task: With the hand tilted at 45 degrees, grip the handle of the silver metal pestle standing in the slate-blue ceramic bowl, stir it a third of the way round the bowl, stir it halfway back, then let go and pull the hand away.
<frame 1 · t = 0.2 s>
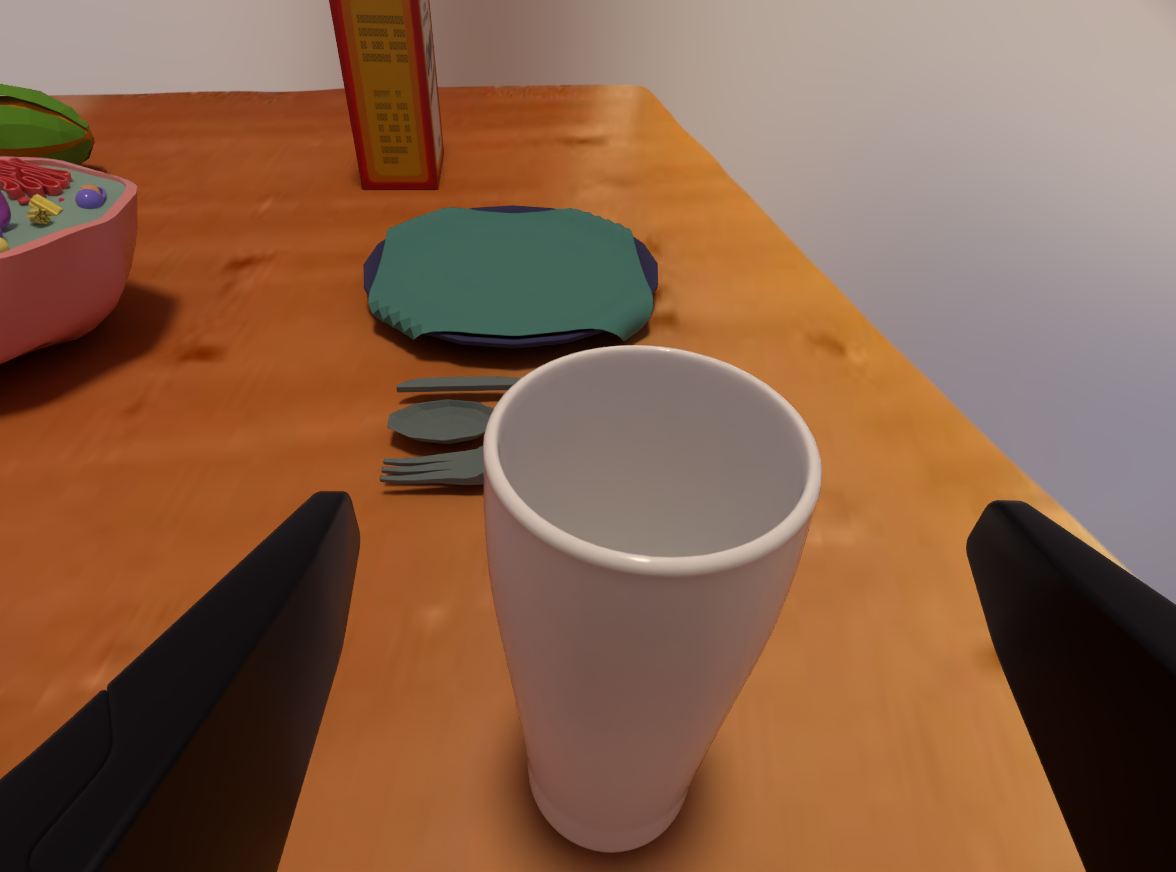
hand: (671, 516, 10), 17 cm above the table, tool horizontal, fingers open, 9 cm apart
baking soda box: (405, 172, 65), on the table
cutlery set: (515, 329, 44), on the table
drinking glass: (607, 774, 23), on the table
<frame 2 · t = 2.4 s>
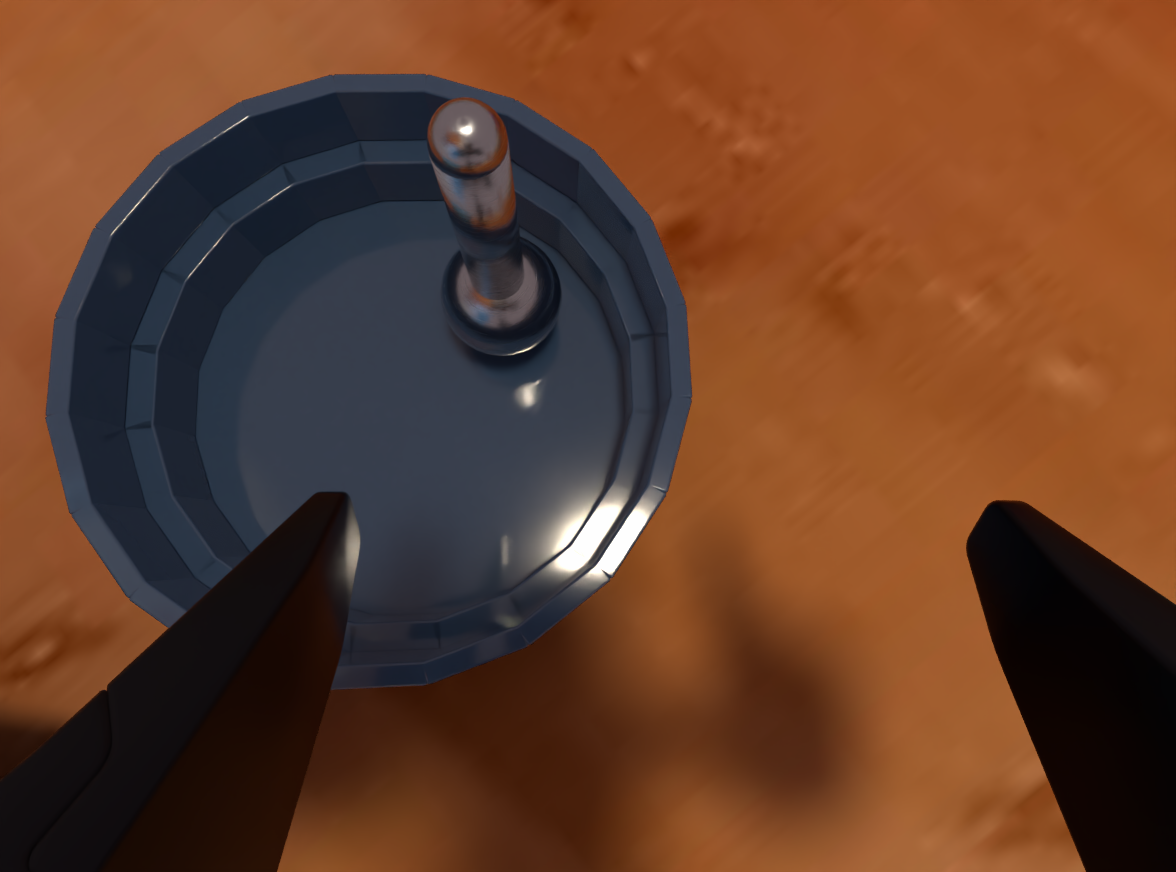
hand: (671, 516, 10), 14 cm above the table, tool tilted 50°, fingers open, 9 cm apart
silver metal pestle: (496, 271, 20), point 5 cm above the table, hinge at 0.0°
mixing bowl: (417, 401, 24), on the table
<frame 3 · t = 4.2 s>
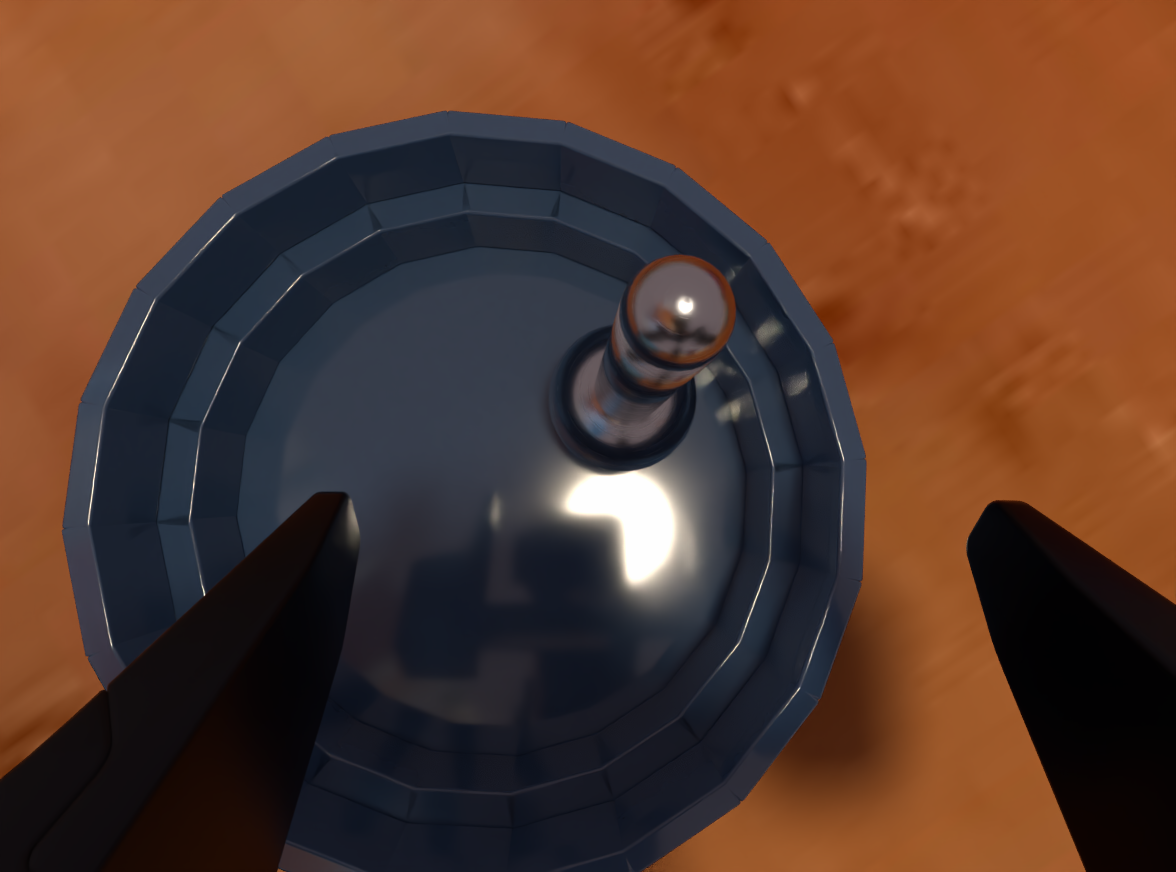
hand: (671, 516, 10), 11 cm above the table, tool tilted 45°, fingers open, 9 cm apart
silver metal pestle: (629, 386, 16), point 5 cm above the table, hinge at 0.0°
mixing bowl: (498, 493, 20), on the table
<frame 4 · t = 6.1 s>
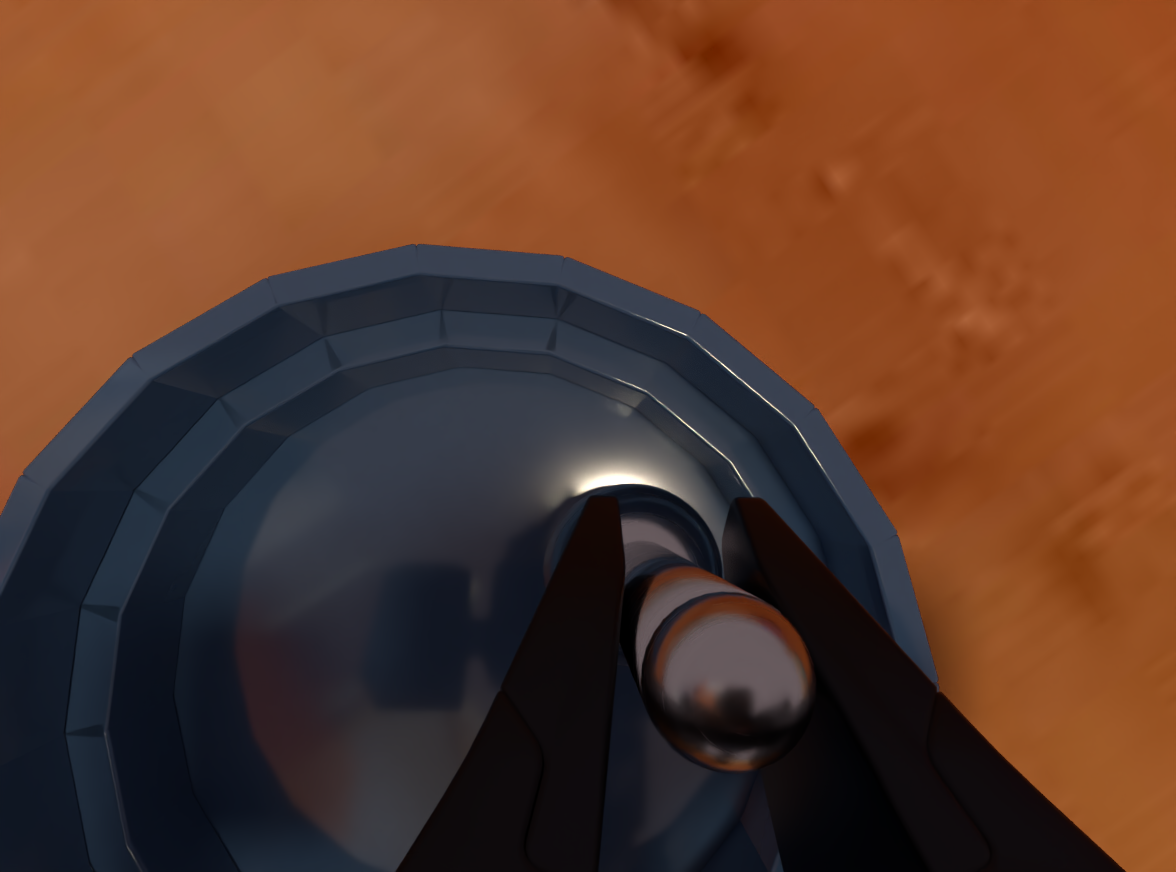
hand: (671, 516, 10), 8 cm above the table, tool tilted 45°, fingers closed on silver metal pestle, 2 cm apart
silver metal pestle: (642, 584, 13), point 5 cm above the table, hinge at 0.0°, touching gripper
mixing bowl: (484, 657, 17), on the table
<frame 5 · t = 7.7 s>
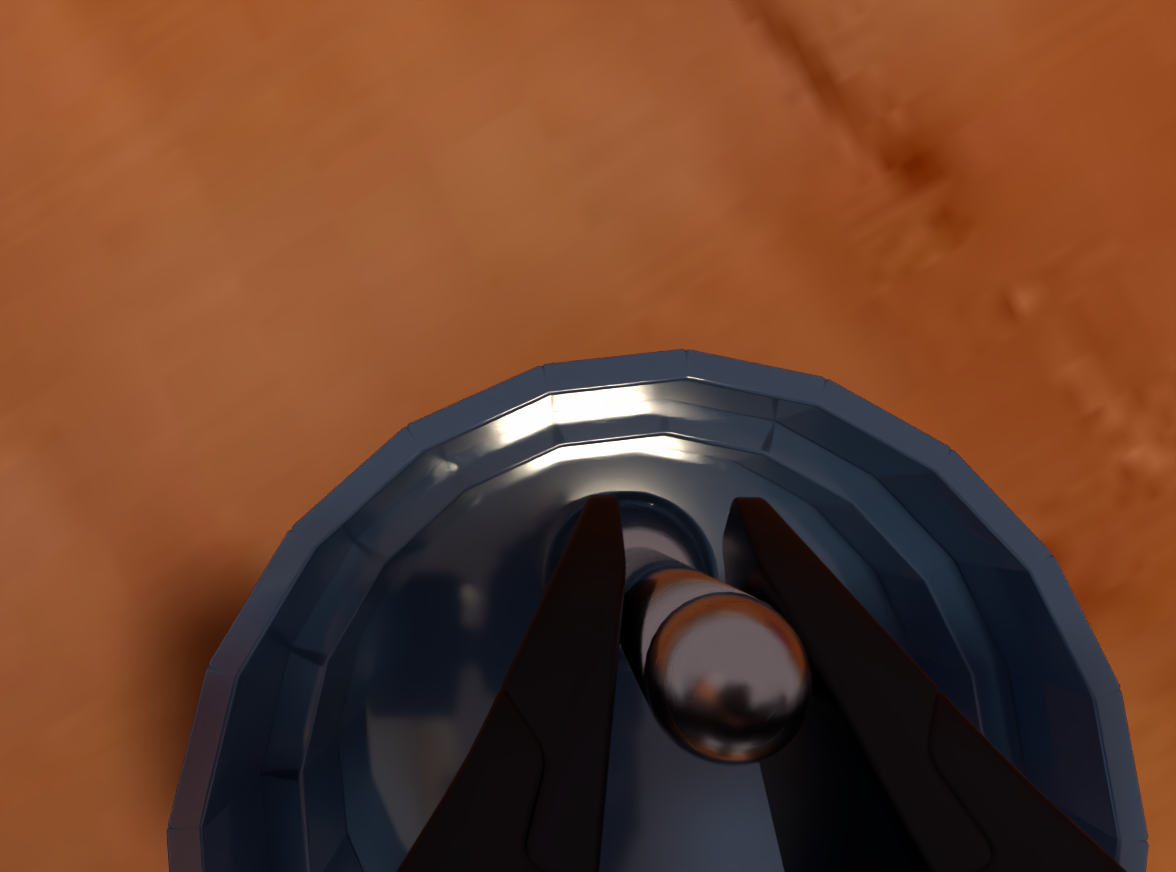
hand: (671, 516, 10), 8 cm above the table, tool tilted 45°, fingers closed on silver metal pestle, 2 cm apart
silver metal pestle: (640, 589, 13), point 5 cm above the table, hinge at 68.6°, touching gripper
mixing bowl: (636, 731, 18), on the table
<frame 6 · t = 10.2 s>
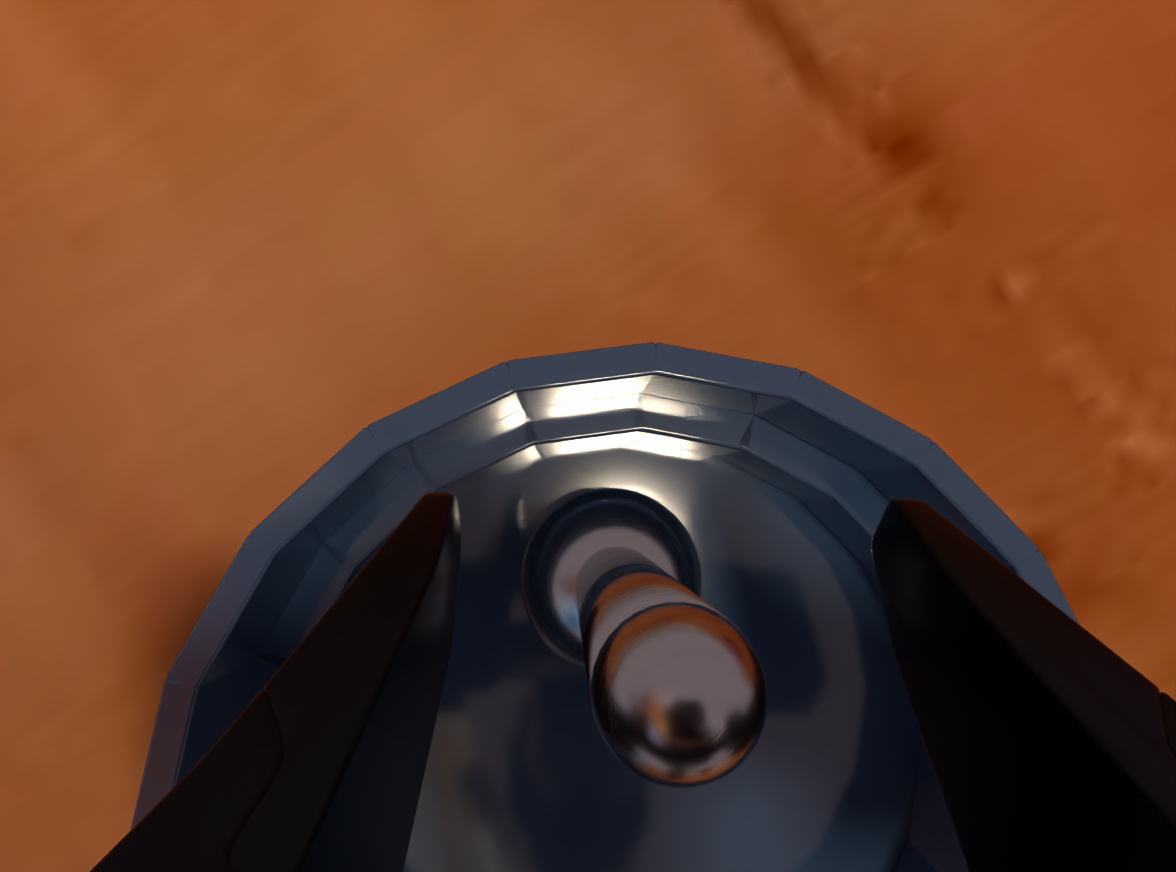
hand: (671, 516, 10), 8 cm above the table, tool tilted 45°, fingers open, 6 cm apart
silver metal pestle: (618, 590, 13), point 5 cm above the table, hinge at 67.0°
mixing bowl: (620, 732, 17), on the table
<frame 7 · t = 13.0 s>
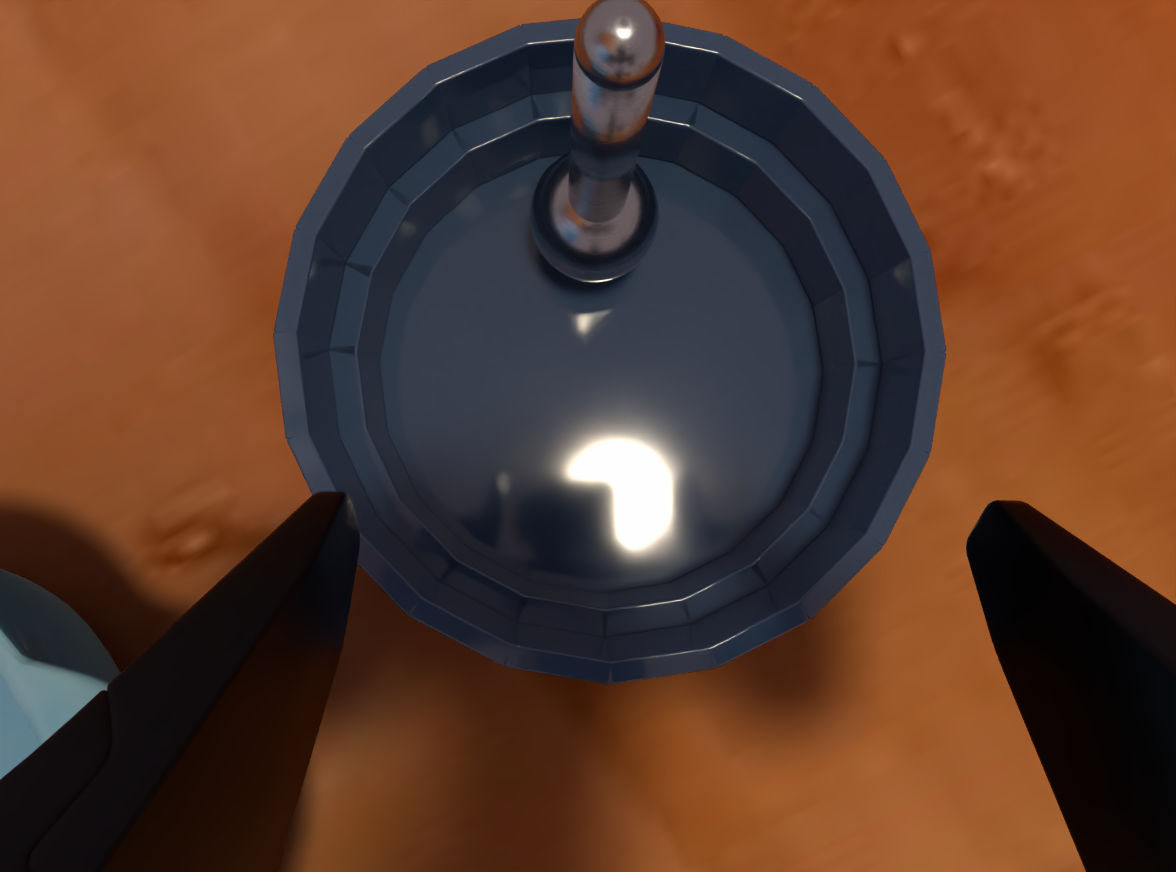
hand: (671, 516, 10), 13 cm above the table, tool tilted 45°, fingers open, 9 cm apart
silver metal pestle: (598, 191, 18), point 5 cm above the table, hinge at 67.0°
mixing bowl: (603, 371, 23), on the table
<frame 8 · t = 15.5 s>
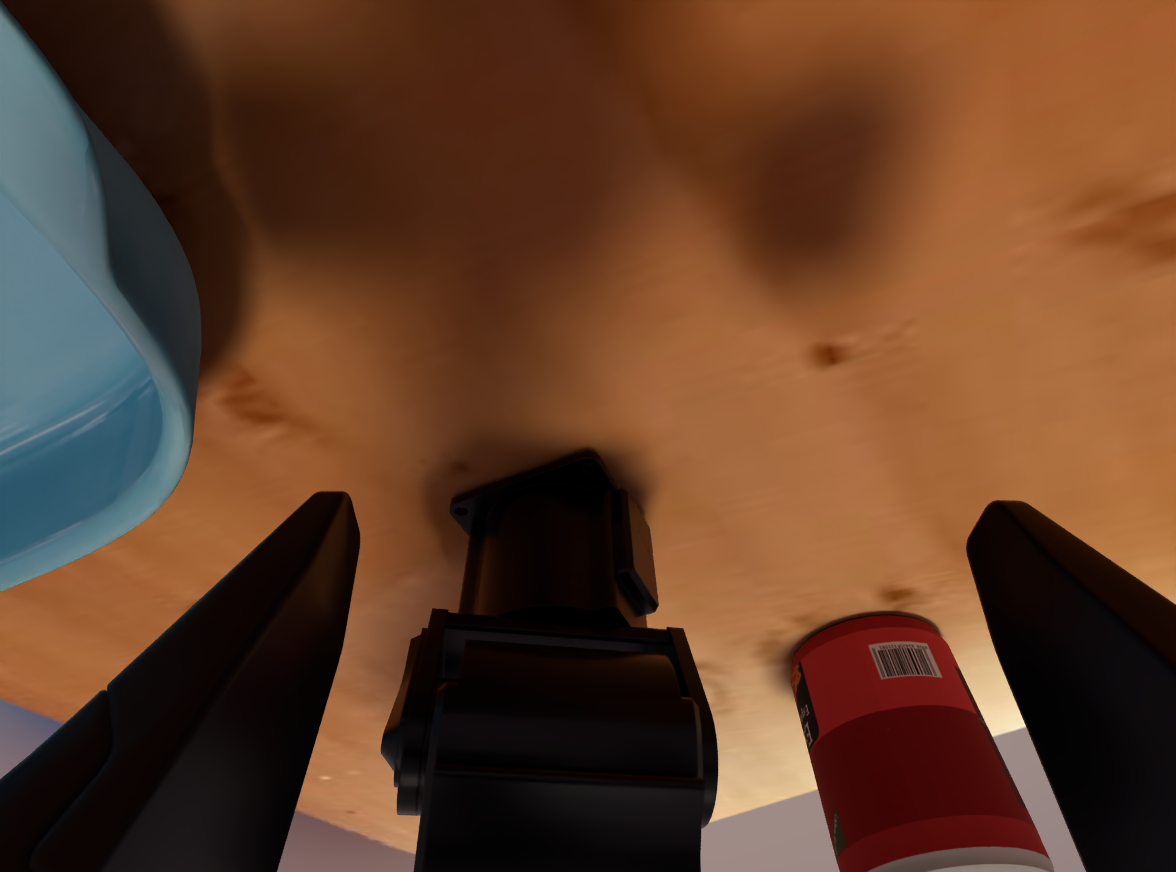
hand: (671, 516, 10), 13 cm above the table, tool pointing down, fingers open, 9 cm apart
canned food: (862, 651, 36), on the table
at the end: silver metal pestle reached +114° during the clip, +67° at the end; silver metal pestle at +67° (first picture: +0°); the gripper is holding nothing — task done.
